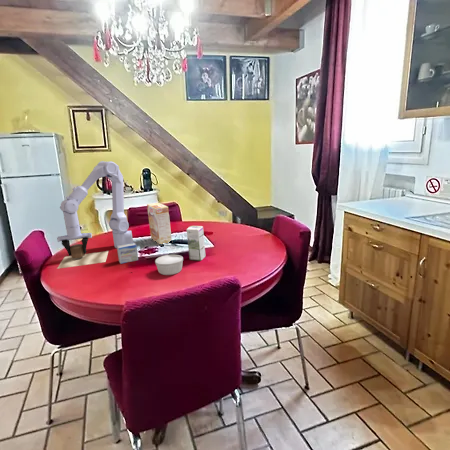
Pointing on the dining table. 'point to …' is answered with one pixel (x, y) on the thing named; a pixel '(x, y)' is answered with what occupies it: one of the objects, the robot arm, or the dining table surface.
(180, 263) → the ramekin
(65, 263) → the post board
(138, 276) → the dining table surface
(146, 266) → the dining table surface
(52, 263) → the dining table surface
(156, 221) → the coffeecake box
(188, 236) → the syrup box
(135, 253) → the medicine box
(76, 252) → the walnut cap
